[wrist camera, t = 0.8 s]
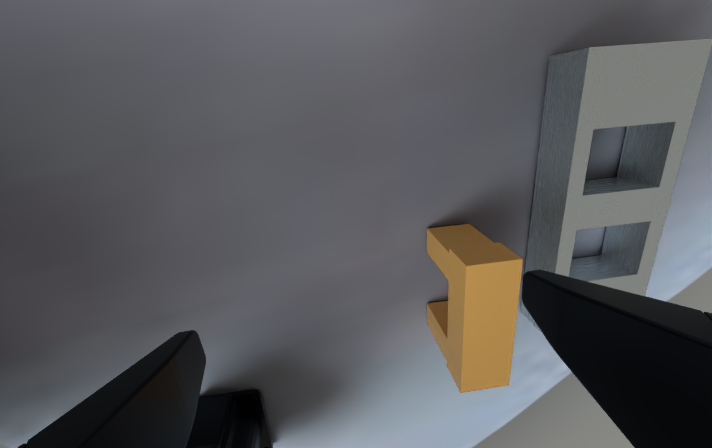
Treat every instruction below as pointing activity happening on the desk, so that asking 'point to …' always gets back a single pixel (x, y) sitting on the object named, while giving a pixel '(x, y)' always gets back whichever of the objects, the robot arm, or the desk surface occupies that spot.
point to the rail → (637, 163)
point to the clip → (475, 305)
